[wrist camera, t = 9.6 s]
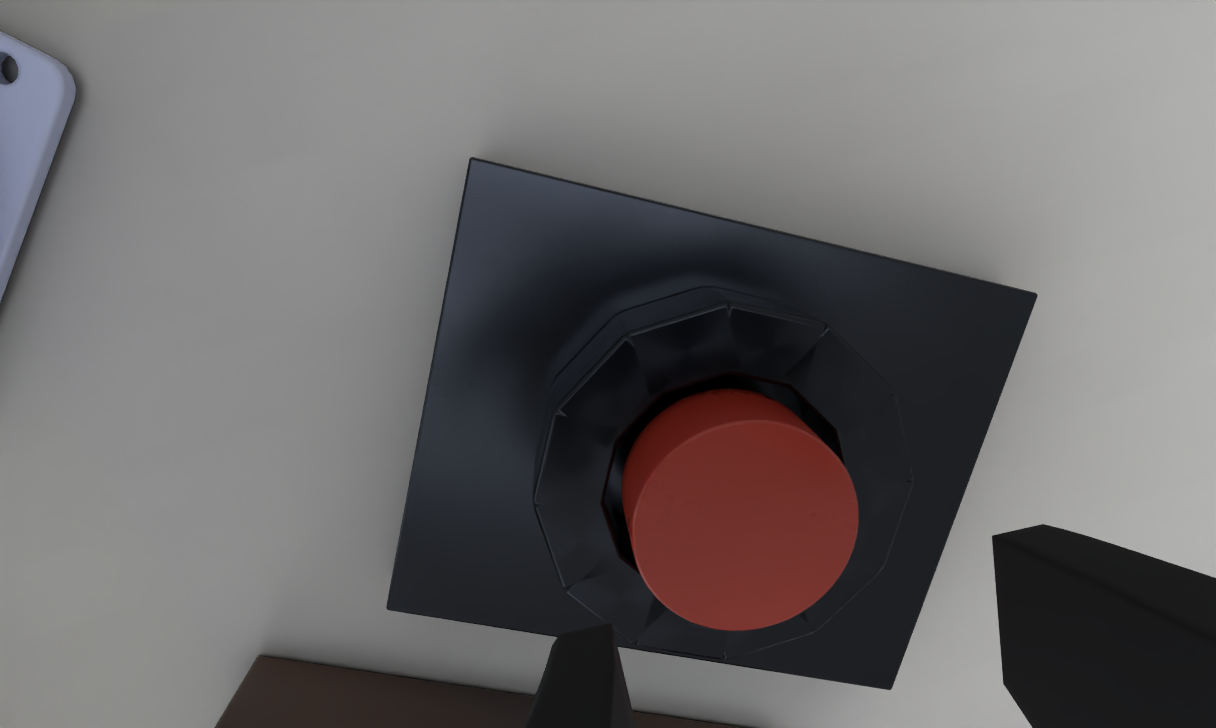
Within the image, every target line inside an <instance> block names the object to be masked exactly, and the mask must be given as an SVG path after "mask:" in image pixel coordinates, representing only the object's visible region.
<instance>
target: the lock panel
mask: <svg viewBox="0 0 1216 728" xmlns="http://www.w3.org/2000/svg"><path fill="white" fill-rule="evenodd" d="M534 698H535V697H533V696H526V695H520V694H513V693H506V692H499V691H493V690H486V689H479V688H472V687H466V686H459V685H452V684H446V683H439V682H432V681H425V680H419V679H412V678H405V677H398V676H392V675H385V674H378V673H371V672H365V671H358V670H351V669H344V668H338V667H331V666H324V665H318V664H311V663H304V662H297V661H291V660H284V659H277V658H270V657H264V656H258V657H257V658H256V660H255V661H254V663H253V665H252V666H251V668H250V670H249V671H248V673H247V675H246V676H245V678H244V680H243V681H242V683H241V685H240V686H239V688H238V690H237V691H236V693H235V695H234V696H233V698H232V700H231V701H230V703H229V705H228V706H227V708H226V710H225V711H224V713H223V715H222V716H221V718H220V720H219V721H218V723H217V725H216V726H215V728H523V726H524V724H525V721H526V718H527V716H528V713H529V711H530V708H531V706H532V703H533V701H534ZM633 716H634V720H635V724H636V728H742V727H735V726H728V725H722V724H715V723H708V722H701V721H695V720H688V719H681V718H675V717H668V716H661V715H654V714H648V713H641V712H634V711H633Z"/></svg>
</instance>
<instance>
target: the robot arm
mask: <svg viewBox="0 0 1216 728" xmlns="http://www.w3.org/2000/svg"><path fill="white" fill-rule="evenodd" d="M8 56H11V57H12V58H14V59H15V61H16V64H17V66H18V77H17V78H16V80H15V81H14V82H13V83H11V84H10V83H9V82H8V81H7V80H5V77H4V75H3V73H2V62H3V61H4V60H5V58H6V57H8ZM75 93H76V87H75V83H74V79H73V76H72V75H71V74H70V72H69V71H68V69H67V68H66V66H64V65H63V64H62V63H60V62H59V61H58V60H56V59H55V58H53V57H51V56H49V55H47V54H45V53H43V52H41V51H39V50H37V49H35V48H33V47H31V46H29V45H27V44H25V43H23V42H21V41H20V40H18V39H16V38H14V37H12V36H10V35H8V34H6V33H4V32H2V31H0V302H1V299H2V296H3V294H4V291H5V288H6V285H7V283H8V280H9V277H10V275H11V272H12V269H13V266H14V264H15V261H16V258H17V255H18V253H19V250H20V247H21V245H22V242H23V239H24V236H25V234H26V231H27V228H28V226H29V223H30V220H31V217H32V215H33V212H34V209H35V206H36V204H37V201H38V198H39V196H40V193H41V190H42V187H43V185H44V182H45V179H46V176H47V174H48V171H49V168H50V166H51V163H52V160H53V157H54V155H55V152H56V149H57V147H58V144H59V141H60V138H61V136H62V133H63V130H64V127H65V125H66V122H67V119H68V117H69V114H70V111H71V108H72V106H73V103H74V100H75ZM992 542H993V555H994V568H995V581H996V593H997V606H998V619H999V632H1000V645H1001V658H1002V671H1003V684H1004V685H1005V687H1006V688H1007V690H1008V691H1009V693H1010V694H1011V696H1012V697H1013V699H1014V700H1015V702H1016V703H1017V705H1018V706H1019V708H1020V709H1021V711H1022V712H1023V714H1024V715H1025V717H1026V718H1027V720H1028V721H1029V723H1030V724H1031V726H1032V727H1033V728H1216V578H1214V577H1211V576H1208V575H1205V574H1202V573H1199V572H1196V571H1193V570H1190V569H1187V568H1184V567H1181V566H1178V565H1175V564H1171V563H1168V562H1165V561H1162V560H1159V559H1156V558H1153V557H1150V556H1147V555H1144V554H1141V553H1138V552H1135V551H1132V550H1129V549H1126V548H1123V547H1120V546H1117V545H1114V544H1111V543H1107V542H1104V541H1101V540H1098V539H1095V538H1092V537H1088V536H1085V535H1082V534H1078V533H1075V532H1071V531H1068V530H1064V529H1060V528H1056V527H1052V526H1048V525H1044V524H1042V525H1037V526H1033V527H1029V528H1024V529H1020V530H1015V531H1011V532H1007V533H1002V534H998V535H993V536H992ZM523 728H636V724H635V720H634V716H633V711H632V707H631V703H630V699H629V694H628V690H627V686H626V682H625V677H624V673H623V669H622V665H621V660H620V656H619V652H618V648H617V643H616V639H615V635H614V631H613V626H612V623H608V624H603V625H599V626H594V627H590V628H586V629H581V630H577V631H573V632H568V633H564V634H560V635H559V637H558V638H557V639H556V641H555V642H554V644H553V645H552V648H551V652H550V655H549V658H548V662H547V664H546V667H545V670H544V673H543V676H542V679H541V682H540V685H539V687H538V690H537V693H536V696H535V698H534V701H533V703H532V706H531V708H530V711H529V713H528V716H527V718H526V721H525V724H524V726H523Z"/></svg>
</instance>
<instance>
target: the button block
mask: <svg viewBox="0 0 1216 728" xmlns="http://www.w3.org/2000/svg"><path fill="white" fill-rule="evenodd" d="M1036 299H1037V294H1036V293H1034V292H1030V291H1026V290H1022V289H1018V288H1014V287H1010V286H1006V285H1002V284H998V283H994V282H989V281H985V280H981V279H977V278H973V277H969V276H965V275H960V274H956V273H952V272H948V271H944V270H940V269H936V268H931V267H927V266H923V265H919V264H915V263H911V262H907V261H902V260H898V259H894V258H890V257H886V256H882V255H878V254H873V253H869V252H865V251H861V250H857V249H853V248H848V247H844V246H840V245H836V244H832V243H828V242H824V241H819V240H815V239H811V238H807V237H803V236H799V235H795V234H790V233H786V232H782V231H778V230H774V229H770V228H766V227H761V226H757V225H753V224H749V223H745V222H741V221H737V220H732V219H728V218H724V217H720V216H716V215H712V214H708V213H703V212H699V211H695V210H691V209H687V208H683V207H679V206H674V205H670V204H666V203H662V202H658V201H654V200H649V199H645V198H641V197H637V196H633V195H629V194H625V193H620V192H616V191H612V190H608V189H604V188H600V187H596V186H591V185H587V184H583V183H579V182H575V181H571V180H567V179H562V178H558V177H554V176H550V175H546V174H542V173H538V172H533V171H529V170H525V169H521V168H517V167H513V166H509V165H504V164H500V163H496V162H492V161H488V160H484V159H480V158H474V157H471V158H470V159H469V164H468V169H467V174H466V180H465V185H464V191H463V196H462V201H461V207H460V212H459V218H458V223H457V228H456V234H455V239H454V245H453V250H452V255H451V261H450V266H449V272H448V277H447V282H446V288H445V293H444V299H443V304H442V309H441V315H440V320H439V326H438V331H437V336H436V342H435V347H434V353H433V358H432V363H431V369H430V374H429V379H428V385H427V390H426V396H425V401H424V406H423V412H422V417H421V423H420V428H419V433H418V439H417V444H416V450H415V455H414V460H413V466H412V471H411V477H410V482H409V487H408V493H407V498H406V504H405V509H404V514H403V520H402V525H401V531H400V536H399V541H398V547H397V552H396V558H395V563H394V568H393V574H392V579H391V584H390V590H389V595H388V601H387V606H386V608H387V610H392V611H398V612H404V613H410V614H417V615H423V616H429V617H435V618H442V619H448V620H454V621H460V622H467V623H473V624H479V625H486V626H492V627H498V628H504V629H511V630H517V631H523V632H529V633H536V634H542V635H548V636H554V637H559V635H560V634H564V633H568V632H573V631H577V630H581V629H586V628H590V627H594V626H599V625H603V624H608V623H612V626H613V631H614V635H615V639H616V643H617V647H623V648H630V649H636V650H642V651H648V652H655V653H661V654H667V655H673V656H680V657H686V658H692V659H698V660H705V661H711V662H717V663H724V664H730V665H736V666H742V667H749V668H755V669H761V670H767V671H774V672H780V673H786V674H792V675H799V676H805V677H811V678H817V679H824V680H830V681H836V682H843V683H849V684H855V685H861V686H868V687H874V688H880V689H886V690H891V689H892V687H893V684H894V681H895V678H896V676H897V673H898V670H899V668H900V665H901V662H902V660H903V657H904V654H905V651H906V649H907V646H908V643H909V641H910V638H911V635H912V633H913V630H914V627H915V625H916V622H917V619H918V616H919V614H920V611H921V608H922V606H923V603H924V600H925V598H926V595H927V592H928V590H929V587H930V584H931V581H932V579H933V576H934V573H935V571H936V568H937V565H938V563H939V560H940V557H941V555H942V552H943V549H944V546H945V544H946V541H947V538H948V536H949V533H950V530H951V528H952V525H953V522H954V519H955V517H956V514H957V511H958V509H959V506H960V503H961V501H962V498H963V495H964V493H965V490H966V487H967V484H968V482H969V479H970V476H971V474H972V471H973V468H974V466H975V463H976V460H977V458H978V455H979V452H980V449H981V447H982V444H983V441H984V439H985V436H986V433H987V431H988V428H989V425H990V423H991V420H992V417H993V414H994V412H995V409H996V406H997V404H998V401H999V398H1000V396H1001V393H1002V390H1003V387H1004V385H1005V382H1006V379H1007V377H1008V374H1009V371H1010V369H1011V366H1012V363H1013V361H1014V358H1015V355H1016V352H1017V350H1018V347H1019V344H1020V342H1021V339H1022V336H1023V334H1024V331H1025V328H1026V326H1027V323H1028V320H1029V317H1030V315H1031V312H1032V309H1033V307H1034V304H1035V301H1036ZM723 388H725V389H743V390H750V391H754V392H757V393H761V394H764V395H766V396H768V397H771V398H773V399H775V400H777V401H778V402H780V403H782V404H783V405H785V406H786V407H788V408H789V409H790V410H791V411H792V412H794V413H795V414H796V415H797V416H798V417H799V418H800V419H801V420H802V421H803V422H804V423H805V424H806V425H807V426H808V427H809V428H810V429H811V430H812V431H813V432H814V433H815V434H816V435H817V436H818V437H819V438H820V439H821V440H822V441H823V442H824V443H825V444H826V445H827V446H828V447H829V448H830V449H831V450H832V451H833V452H834V453H835V454H836V455H837V456H838V457H839V459H840V460H841V462H842V463H843V465H844V466H845V468H846V469H847V471H848V473H849V475H850V478H851V480H852V482H853V485H854V489H855V492H856V496H857V502H858V530H857V537H856V541H855V544H854V548H853V551H852V554H851V556H850V558H849V561H848V563H847V565H846V566H845V568H844V570H843V572H842V573H841V575H840V576H839V578H838V579H837V580H836V582H835V583H834V584H833V586H832V587H831V588H830V589H829V590H828V591H827V592H826V593H825V594H824V595H823V596H822V597H821V598H820V599H819V600H818V601H816V602H815V603H814V604H813V605H812V606H810V607H809V608H807V609H806V610H804V611H803V612H801V613H800V614H798V615H796V616H794V617H792V618H790V619H788V620H785V621H783V622H780V623H777V624H775V625H772V626H768V627H764V628H760V629H753V630H745V631H728V630H719V629H713V628H709V627H705V626H701V625H699V624H696V623H693V622H690V621H688V620H686V619H685V618H683V617H681V616H679V615H677V614H676V613H674V612H673V611H671V610H670V609H669V608H667V607H666V606H665V605H664V604H663V603H662V602H660V601H659V600H658V599H657V598H656V597H655V595H654V594H653V593H652V592H651V590H650V589H649V588H648V587H647V585H646V583H645V582H644V580H643V578H642V576H641V575H640V572H639V570H638V567H637V565H636V562H635V558H634V554H633V550H632V545H631V541H630V536H629V532H628V527H627V523H626V518H625V514H624V509H623V504H622V495H621V486H622V476H623V470H624V466H625V463H626V460H627V457H628V454H629V452H630V450H631V448H632V446H633V444H634V442H635V440H636V439H637V437H638V436H639V434H640V433H641V432H642V430H643V429H644V428H645V427H646V426H647V425H648V423H649V422H650V421H651V420H652V419H653V418H655V417H656V416H657V415H658V414H659V413H660V412H662V411H663V410H664V409H666V408H667V407H669V406H670V405H672V404H674V403H675V402H677V401H679V400H681V399H683V398H685V397H688V396H691V395H693V394H696V393H700V392H704V391H708V390H714V389H723Z"/></svg>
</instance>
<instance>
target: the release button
mask: <svg viewBox="0 0 1216 728" xmlns="http://www.w3.org/2000/svg"><path fill="white" fill-rule="evenodd" d="M621 495H622V504H623V509H624V514H625V518H626V523H627V527H628V532H629V536H630V541H631V545H632V550H633V554H634V558H635V562H636V565H637V567H638V570H639V572H640V575H641V576H642V578H643V580H644V582H645V583H646V585H647V587H648V588H649V589H650V590H651V592H652V593H653V594H654V595H655V597H656V598H657V599H658V600H659V601H660V602H662V603H663V604H664V605H665V606H666V607H667V608H669V609H670V610H671V611H673V612H674V613H676V614H677V615H679V616H681V617H683V618H685V619H686V620H688V621H690V622H693V623H696V624H699V625H701V626H705V627H709V628H713V629H719V630H728V631H745V630H753V629H760V628H764V627H768V626H772V625H775V624H777V623H780V622H783V621H785V620H788V619H790V618H792V617H794V616H796V615H798V614H800V613H801V612H803V611H804V610H806V609H807V608H809V607H810V606H812V605H813V604H814V603H815V602H816V601H818V600H819V599H820V598H821V597H822V596H823V595H824V594H825V593H826V592H827V591H828V590H829V589H830V588H831V587H832V586H833V584H834V583H835V582H836V580H837V579H838V578H839V576H840V575H841V573H842V572H843V570H844V568H845V566H846V565H847V563H848V561H849V558H850V556H851V554H852V551H853V548H854V544H855V541H856V537H857V530H858V502H857V496H856V492H855V489H854V485H853V482H852V480H851V478H850V475H849V473H848V471H847V469H846V468H845V466H844V465H843V463H842V462H841V460H840V459H839V457H838V456H837V455H836V454H835V453H834V452H833V451H832V450H831V449H830V448H829V447H828V446H827V445H826V444H825V443H824V442H823V441H822V440H821V439H820V438H819V437H818V436H817V435H816V434H815V433H814V432H813V431H812V430H811V429H810V428H809V427H808V426H807V425H806V424H805V423H804V422H803V421H802V420H801V419H800V418H799V417H798V416H797V415H796V414H795V413H794V412H792V411H791V410H790V409H789V408H788V407H786V406H785V405H783V404H782V403H780V402H778V401H777V400H775V399H773V398H771V397H768V396H766V395H764V394H761V393H757V392H754V391H750V390H743V389H725V388H723V389H714V390H708V391H704V392H700V393H696V394H693V395H691V396H688V397H685V398H683V399H681V400H679V401H677V402H675V403H674V404H672V405H670V406H669V407H667V408H666V409H664V410H663V411H662V412H660V413H659V414H658V415H657V416H656V417H655V418H653V419H652V420H651V421H650V422H649V423H648V425H647V426H646V427H645V428H644V429H643V430H642V432H641V433H640V434H639V436H638V437H637V439H636V440H635V442H634V444H633V446H632V448H631V450H630V452H629V454H628V457H627V460H626V463H625V466H624V470H623V476H622V486H621Z"/></svg>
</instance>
